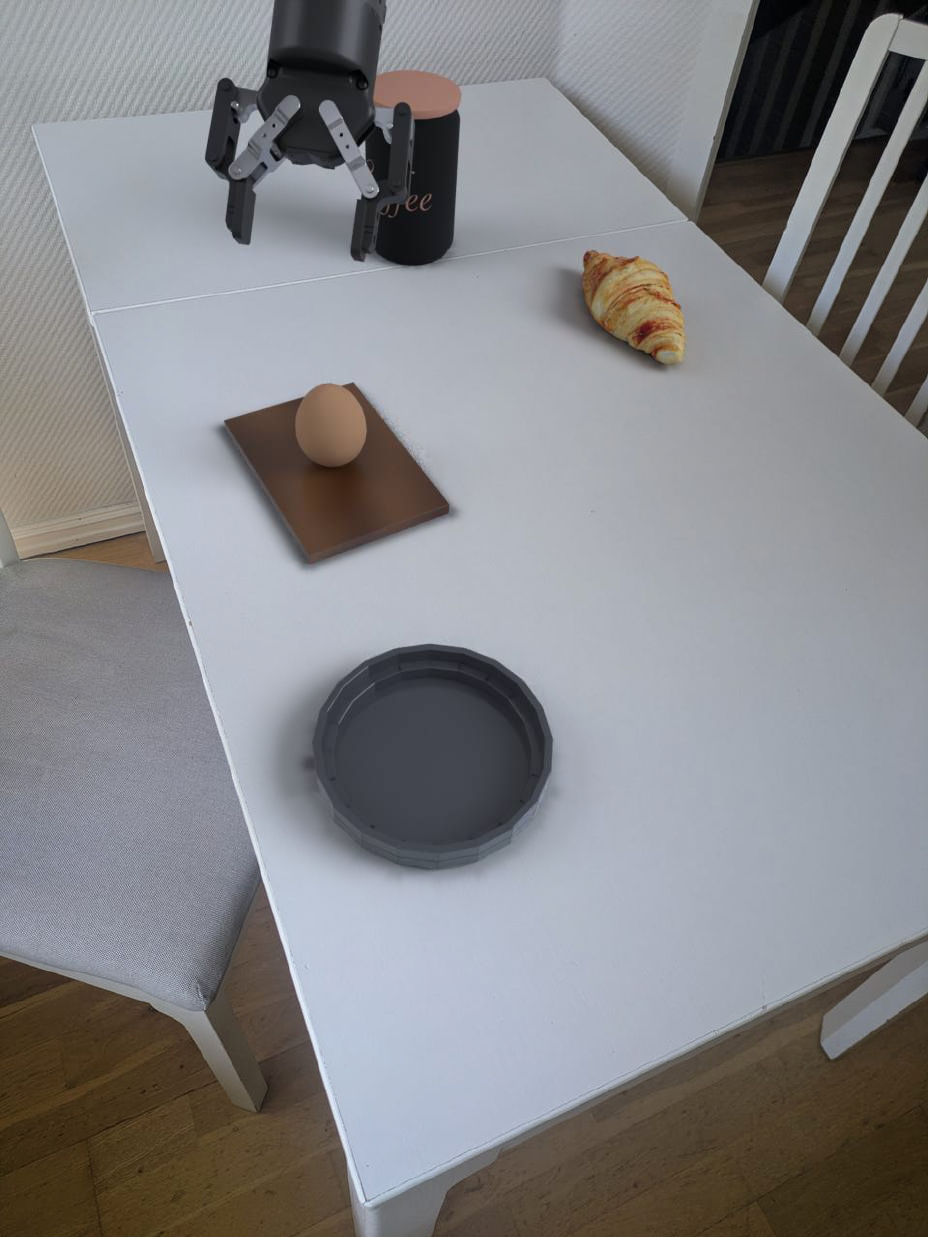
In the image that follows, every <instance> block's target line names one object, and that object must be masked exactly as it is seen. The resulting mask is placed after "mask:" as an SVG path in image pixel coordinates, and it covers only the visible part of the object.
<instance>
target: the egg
mask: <svg viewBox="0 0 928 1237" xmlns="http://www.w3.org/2000/svg"><path fill="white" fill-rule="evenodd" d="M303 397H304V398H303V400H302V402H301V404H300V406H299V408H298V410H297V414H296V419H295V428H296V437H297V440H298V443H299V445H300V447H301V449H302V450H303V452H304V453H305V454H306V455H307V456H308V457H309V458H310V459H311V460H312V461H314V462H315V463H317V464H320V465H323V466H326V467H338V466H342V465H344V464H347V463H349V462H350V461H352V460H353V459H354V458H355V457H356V456H357V455H358V454H359V453H360V451H361V449H362V447H363V445H364V443H365V439H366V432H367V430H366V419H365V415H364V412H363V409H362V407H361V406H360V404H359V403H358V401H357V399H356V398H355V397H354V396H353V394H352V393H351V392H350V391H348V390H347V389H345V388H344V387H342V385H340V384H337V383H332V382H329V383H328V382H327V383H321V384H318V385H316V386H314V387H313V388H312V389H310V390H309V391H308V392H307V393H306V395H304V396H303Z"/></svg>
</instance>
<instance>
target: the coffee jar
mask: <svg viewBox="0 0 928 1237" xmlns="http://www.w3.org/2000/svg"><path fill="white" fill-rule="evenodd" d="M462 95H463V94H462V91H461V89H460V86H459V85H458V84H457V83H455V82H454V81H453V80H451V79H449V78H447V77H445V76H443V75H441V74H437V73H432V72H428V71H423V70H415V69H401V70H400V69H398V70H391V71H386V72H383V73H379V74H376V81H375V89H374V96H373V101H374V106H375V107H385V108H395V106H396V105H397V104H398V103H400V102H405V103H407V104H408V105H409V106H410V108H411V112H412V115H413V119H414V123H415V133H414V146H413V158H412V170H411V183H410V195H409V200H408V201H407V202H406V203H405V204H401V205H400V204H397V203H394V204H390V205H386V206H385V207H384V208H383V209H382V210H381V212H380V217H379V225H378V232H377V239H376V247H375V249H374V251H375V253H377V255H378V256H379V257H381V258H383V259H384V260H386V261H388V262H391V263H393V264H398V265H404V266H423V265H427V264H433V263H434V262H437V261H438V260H440V259H442V258H443V257H444V256H445V255H446V253H447V252H448V251H449V250H450V248H451V247H452V244H453V242H454V238H455V237H454V236H455V221H456V220H455V219H456V202H457V199H456V198H457V185H458V170H459V169H458V168H459V166H458V165H459V150H460V149H459V147H460V131H461V115H460V113H459V112H460V111H459V110H458V108H459V107H460V104H461V100H462ZM390 151H391V144H389V143H388V142H387V141H386V140H385V137H384V134H383V129H382V128H381V127H378V126H376V128H375V130H374V131H373V132H372V133H371V134H370V136H369V137H368V138H367V139H366V140H365V141H364V154H365V155H364V160H365V162H366V164H367V166H368V168H369V170H370V172H371V173H372V175H373V177H374V179H375V181H376V182H377V181H381V180H385V179H388V177H389V164H390Z"/></svg>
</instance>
